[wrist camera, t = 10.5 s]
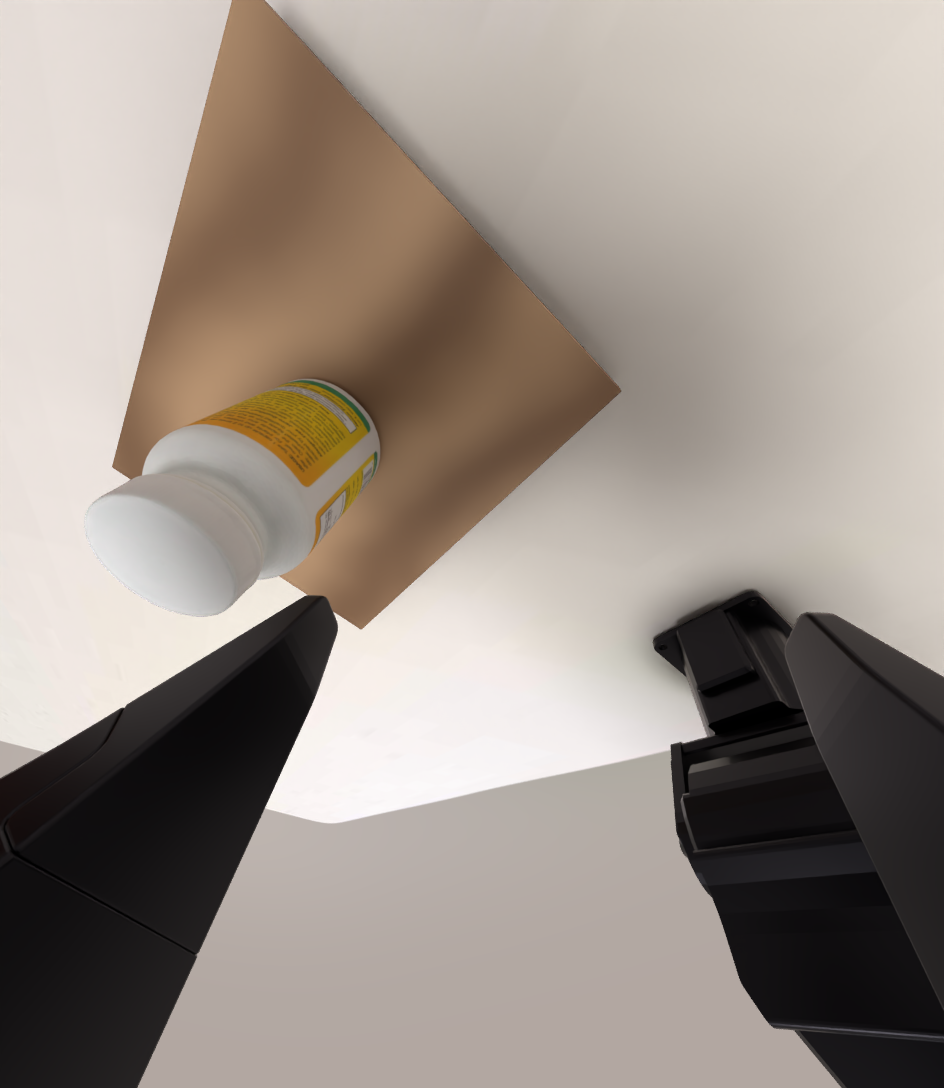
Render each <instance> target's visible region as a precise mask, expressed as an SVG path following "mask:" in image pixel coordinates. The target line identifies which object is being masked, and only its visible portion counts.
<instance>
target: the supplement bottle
mask: <svg viewBox="0 0 944 1088" xmlns="http://www.w3.org/2000/svg"><path fill="white" fill-rule="evenodd" d="M379 461H380V442H379V437H378V433H377V431H376V428H375V426H374V424H373V422H372V420H371V418H370V416H369V415H368V413H367V412H366V411H365V410H364V408H363V407H362V406H361V405H360V404H359V403H358V402H357V401H356V400H355V399H354V398H353V397H351V396H350V395H349V394H348V393H347V392H345V391H344V390H342V389H341V388H339V387H337V386H335V385H333V384H331V383H328V382H325V381H322V380H316V379H298V380H293V381H290V382H288V383H285V384H282V385H280V386H278V387H276V388H273V389H270V390H268V391H266V392H263V393H261V394H258V395H256V396H254V397H252V398H249V399H247V400H245V401H242V402H240V403H238V404H235V405H233V406H231V407H229V408H226V409H224V410H222V411H219V412H217V413H214V414H212V415H210V416H208V417H205V418H203V419H201V420H198V421H196V422H194V423H191V424H189V425H186V426H184V427H182V428H179V429H177V430H175V431H173V432H171V433H169V434H168V435H166V436H165V437H163V438H162V439H161V440H159V441H158V442H157V443H156V445H155V446H154V447H153V448H152V449H151V451H150V452H149V454H148V456H147V458H146V460H145V463H144V467H143V472H142V476H138V477H135V478H133V479H131V480H129V481H128V482H126V483H125V484H123V485H121V486H120V487H118V488H116V489H114V490H112V491H110V492H109V493H107V494H105V495H103V496H101V497H100V498H99V499H97V500H96V501H95V502H94V503H93V504H92V505H91V506H90V507H89V508H88V510H87V512H86V515H85V521H84V527H85V533H86V537H87V539H88V542H89V544H90V547H91V548H92V550H93V552H94V554H95V555H96V557H97V558H98V560H99V561H100V562H101V563H102V565H103V566H104V567H105V568H106V569H107V570H108V571H109V573H110V574H112V575H113V576H114V577H115V578H116V579H117V580H118V581H119V582H120V583H122V584H123V585H124V586H125V587H126V588H128V589H129V590H131V591H132V592H134V593H135V594H137V595H139V596H140V597H141V598H143V599H145V600H147V601H148V602H150V603H152V604H154V605H156V606H158V607H161V608H164V609H166V610H168V611H171V612H175V613H179V614H184V615H189V616H197V617H204V616H212V615H217V614H219V613H221V612H223V611H225V610H227V609H228V608H229V607H231V606H232V605H233V604H234V603H235V602H236V601H237V600H238V598H239V597H240V596H241V595H242V594H243V593H244V592H245V591H246V590H247V589H248V588H250V587H251V586H252V585H253V584H254V583H255V582H256V580H260V579H268V578H273V577H277V576H280V575H283V574H285V573H287V572H289V571H291V570H292V569H294V568H295V567H297V566H298V565H299V564H300V563H301V562H303V560H304V559H305V558H306V557H307V556H308V555H309V554H310V553H311V552H312V550H313V549H314V548H315V547H316V546H317V545H318V543H319V542H320V541H321V540H322V539H323V537H324V536H325V535H326V534H327V533H328V532H329V530H330V529H331V528H332V527H333V525H334V524H335V523H336V522H337V521H338V519H339V518H340V517H341V516H342V515H343V514H344V513H345V511H346V510H347V509H348V508H349V507H350V505H351V504H352V503H353V502H354V501H355V499H356V498H357V497H358V496H359V495H360V493H361V492H362V491H363V490H364V489H365V487H366V486H367V485H368V483H369V482H370V481H371V480H372V478H373V477H374V475H375V473H376V471H377V468H378V465H379Z"/></svg>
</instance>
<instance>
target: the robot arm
mask: <svg viewBox="0 0 944 1088" xmlns="http://www.w3.org/2000/svg"><path fill="white" fill-rule="evenodd" d="M751 600H754V601H751ZM750 601H751V602H750ZM337 631H338V624H337V620H336V618H335V615H334V613H333V610H332V608H331V605H330V603H329V600H328V599H327V598H326V597H325V596H322V595H307V596H304V597H303V598H301V599H299V600H298V601H296V602H294V603H293V604H291V605H289V606H288V607H286V608H285V609H283V610H281V611H280V612H278V613H276V614H275V615H273V616H271V617H270V618H268V619H266V620H265V621H263V622H262V623H260V624H258V625H257V626H255V627H253V628H252V629H250V630H248V631H247V632H245V633H244V634H242V635H240V636H239V637H237V638H235V639H234V640H232V641H230V642H229V643H227V644H225V645H224V646H222V647H221V648H219V649H217V650H216V651H214V652H212V653H211V654H209V655H207V656H206V657H204V658H202V659H201V660H199V661H198V662H196V663H194V664H193V665H191V666H189V667H188V668H186V669H184V670H183V671H181V672H180V673H178V674H176V675H175V676H173V677H171V678H170V679H168V680H166V681H165V682H163V683H161V684H160V685H158V686H157V687H155V688H153V689H152V690H150V691H148V692H147V693H145V694H143V695H142V696H140V697H138V698H137V699H135V700H134V701H132V702H130V703H129V704H127V705H126V707H125V708H120V709H119V710H117V711H115V712H114V713H112V714H110V715H109V716H107V717H106V718H104V719H102V720H101V721H99V722H97V723H96V724H94V725H92V726H91V727H89V728H87V729H86V730H84V731H82V732H81V733H79V734H77V735H76V736H74V737H72V738H70V739H69V740H67V741H65V742H64V743H62V744H60V745H59V746H57V747H55V748H53V749H52V750H50V751H48V752H46V753H44V754H43V755H41V756H39V757H37V758H36V759H34V760H32V761H30V762H29V763H27V764H25V765H23V766H21V767H20V768H18V769H16V770H14V771H13V772H11V773H9V774H7V775H5V776H3V777H2V778H0V1088H137V1087H138V1085H139V1083H140V1081H141V1078H142V1076H143V1074H144V1072H145V1070H146V1068H147V1065H148V1063H149V1061H150V1059H151V1057H152V1054H153V1052H154V1050H155V1048H156V1046H157V1044H158V1041H159V1039H160V1037H161V1035H162V1033H163V1030H164V1028H165V1026H166V1024H167V1022H168V1019H169V1017H170V1015H171V1013H172V1011H173V1009H174V1006H175V1004H176V1002H177V1000H178V998H179V995H180V993H181V991H182V989H183V987H184V985H185V982H186V980H187V978H188V976H189V974H190V971H191V969H192V967H193V965H194V963H195V960H196V958H197V953H199V951H200V949H201V947H202V944H203V942H204V940H205V938H206V936H207V933H208V931H209V929H210V927H211V925H212V923H213V920H214V918H215V916H216V913H217V912H218V909H219V907H220V905H221V903H222V900H223V898H224V896H225V894H226V892H227V890H228V888H229V885H230V883H231V881H232V879H233V877H234V874H235V872H236V870H237V868H238V865H239V863H240V861H241V859H242V857H243V855H244V852H245V850H246V848H247V846H248V844H249V841H250V839H251V837H252V835H253V833H254V831H255V829H256V826H257V824H258V822H259V819H260V818H261V815H262V813H263V811H264V809H265V807H266V804H267V802H268V800H269V798H270V796H271V794H272V791H273V789H274V787H275V785H276V783H277V780H278V778H279V776H280V774H281V772H282V769H283V767H284V765H285V763H286V761H287V759H288V756H289V754H290V752H291V750H292V748H293V745H294V743H295V741H296V739H297V737H298V734H299V732H300V730H301V728H302V726H303V724H304V721H305V719H306V717H307V715H308V713H309V710H310V708H311V706H312V703H313V701H314V699H315V696H316V694H317V691H318V688H319V686H320V683H321V680H322V677H323V674H324V671H325V668H326V665H327V662H328V659H329V656H330V653H331V650H332V647H333V644H334V641H335V638H336V636H337ZM653 646H654V649H655V651H656V652H658V653H659V654H660V655H661V656H662V657H664V658H665V659H666V660H667V661H668V662H670V663H671V664H672V665H673V666H674V667H675V668H677V669H678V670H679V671H680V672H681V673H683V674H684V675H685V676H686V677H687V679H688V682H689V685H690V688H691V691H692V694H693V697H694V700H695V702H696V705H697V708H698V711H699V714H700V717H701V720H702V723H703V726H704V729H705V732H706V735H707V737H705V738H701V739H698V740H694V741H690V742H686V743H682V742H679V743H675V744H671V759H672V760H671V770H672V782H673V794H674V808H675V820H676V831H677V835H678V837H679V843H680V847H681V850H682V852H683V854H684V855H685V856H686V857H687V858H688V859H689V862H690V864H691V866H692V868H693V870H694V872H695V874H696V876H697V878H698V879H699V881H700V883H701V884H702V886H703V887H704V889H705V890H706V891H707V893H708V894H709V895H710V896H711V897H712V898H713V901H714V903H715V906H716V908H717V911H718V913H719V916H720V919H721V922H722V925H723V928H724V931H725V934H726V937H727V940H728V944H729V947H730V950H731V953H732V956H733V960H734V963H735V966H736V969H737V972H738V976H739V979H740V981H741V983H742V985H743V987H744V988H745V990H746V991H747V993H748V994H749V996H750V997H751V999H752V1000H753V1002H754V1003H755V1005H756V1006H757V1008H758V1009H759V1011H760V1012H761V1014H762V1015H763V1016H764V1018H765V1019H766V1021H767V1022H768V1023H769V1024H770V1025H771V1026H772V1027H773V1028H776V1029H788V1030H795V1032H796V1033H797V1034H798V1036H800V1038H801V1039H802V1040H803V1042H804V1043H805V1044H806V1045H807V1046H808V1048H809V1049H810V1050H811V1051H812V1052H813V1054H814V1055H815V1056H816V1057H817V1058H818V1060H819V1061H820V1062H821V1063H822V1065H823V1066H824V1067H825V1068H826V1069H827V1071H828V1072H829V1073H830V1074H831V1075H832V1077H834V1079H835V1080H836V1081H837V1083H838V1084H839V1085H840V1086H841V1087H842V1088H944V677H943V676H941V675H939V674H938V673H936V672H934V671H932V670H931V669H929V668H927V667H925V666H924V665H922V664H920V663H918V662H917V661H915V660H913V659H912V658H910V657H908V656H906V655H905V654H903V653H901V652H899V651H898V650H896V649H894V648H892V647H891V646H889V645H887V644H885V643H884V642H882V641H880V640H878V639H877V638H875V637H873V636H871V635H870V634H868V633H866V632H864V631H863V630H861V629H859V628H858V627H856V626H854V625H852V624H851V623H849V622H847V621H845V620H844V619H842V618H840V617H838V616H836V615H834V614H831V613H817V612H806V613H803V614H801V615H800V616H799V617H798V619H797V621H796V623H795V625H794V628H793V627H792V626H791V625H790V624H789V623H788V622H787V621H786V620H785V619H784V618H783V617H782V616H781V615H780V614H779V613H778V612H777V611H776V610H775V608H774V607H773V606H772V605H771V604H770V603H769V602H768V601H767V600H766V599H765V598H764V597H763V596H762V595H761V594H760V593H758V592H755V591H752V592H747V593H745V594H743V595H741V596H739V597H737V598H735V599H733V600H731V601H729V602H727V603H725V604H723V605H721V606H719V607H717V608H715V609H713V610H711V611H709V612H707V613H705V614H703V615H701V616H699V617H697V618H695V619H693V620H691V621H689V622H687V623H685V624H683V625H681V626H679V627H677V628H675V629H673V630H671V631H669V632H667V633H665V634H663V635H661V636H659V637H657V638H656V639H654V641H653Z"/></svg>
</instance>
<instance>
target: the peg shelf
mask: <svg viewBox="0 0 944 1088" xmlns="http://www.w3.org/2000/svg"><path fill="white" fill-rule="evenodd" d="M298 379H316V380H322V381H325V382H328V383H331V384H333V385H335V386H337V387H339V388H341V389H342V390H344V391H345V392H347V393H348V394H349V395H350V396H351V397H353V398H354V399H355V400H356V401H357V402H358V403H359V404H360V405H361V406H362V407H363V408H364V410H365V411H366V412H367V413H368V415H369V416H370V418H371V420H372V422H373V424H374V426H375V428H376V431H377V433H378V437H379V442H380V461H379V465H378V468H377V471H376V473H375V475H374V477H373V478H372V480H371V481H370V482H369V483H368V485H367V486H366V487H365V489H364V490H363V491H362V492H361V493H360V495H359V496H358V497H357V498H356V499H355V501H354V502H353V503H352V504H351V505H350V507H349V508H348V509H347V510H346V511H345V513H344V514H343V515H342V516H341V517H340V518H339V519H338V521H337V522H336V523H335V524H334V525H333V527H332V528H331V529H330V530H329V532H328V533H327V534H326V535H325V536H324V537H323V539H322V540H321V541H320V542H319V543H318V545H317V546H316V547H315V548H314V549H313V550H312V552H311V553H310V554H309V555H308V556H307V557H306V558H305V559H304V560H303V562H301V563H300V564H299V565H298V566H297V567H295V568H294V569H292V570H291V571H289V572H287V573H285V574H283V575H280V577H281V578H283V579H284V580H286V581H287V582H289V583H290V584H292V585H294V586H295V587H297V588H298V589H300V590H301V591H303V592H304V593H306V594H307V595H322V596H325V597H326V598H327V599H328V600H329V603H330V605H331V608H332V610H333V612H335V613H336V614H338V615H340V616H341V617H343V618H344V619H346V620H347V621H349V622H350V623H352V624H353V625H355V626H356V627H358V628H359V629H363V628H364V627H365V626H366V625H367V624H368V623H369V622H370V621H371V620H372V619H373V618H375V617H376V616H377V615H378V614H379V613H380V612H381V611H382V610H383V609H384V608H385V607H387V606H388V605H389V604H390V603H391V602H392V601H393V600H394V599H395V598H396V597H397V596H399V595H400V594H401V593H402V592H403V591H404V590H405V589H406V588H407V587H408V586H409V585H411V584H412V583H413V582H414V581H415V580H416V579H417V578H418V577H419V576H420V575H421V574H423V573H424V572H425V571H426V570H427V569H428V568H429V567H430V566H431V565H432V564H433V563H435V562H436V561H437V560H438V559H439V558H440V557H441V556H442V555H443V554H444V553H445V552H447V551H448V550H449V549H450V548H451V547H452V546H453V545H454V544H455V543H456V542H457V541H459V540H460V539H461V538H462V537H463V536H464V535H465V534H466V533H467V532H468V531H470V530H471V529H472V528H473V527H474V526H475V525H476V524H477V523H478V522H479V521H480V520H482V519H483V518H484V517H485V516H486V515H487V514H488V513H489V512H490V511H491V510H492V509H494V508H495V507H496V506H497V505H498V504H499V503H500V502H501V501H502V500H503V499H504V498H506V497H507V496H508V495H509V494H510V493H511V492H512V491H513V490H514V489H515V488H516V487H518V486H519V485H520V484H521V483H522V482H523V481H524V480H525V479H526V478H527V477H528V476H530V475H531V474H532V473H533V472H534V471H535V470H536V469H537V468H538V467H539V466H540V465H542V464H543V463H544V462H545V461H546V460H547V459H548V458H549V457H550V456H551V455H552V454H554V453H555V452H556V451H557V450H558V449H559V448H560V447H561V446H562V445H563V444H564V443H566V442H567V441H568V440H569V439H570V438H571V437H572V436H573V435H574V434H575V433H576V432H578V431H579V430H580V429H581V428H582V427H583V426H584V425H585V424H586V423H587V422H588V421H590V420H591V419H592V418H593V417H594V416H595V415H596V414H597V413H598V412H599V411H600V410H602V409H603V408H604V407H605V406H606V405H607V404H608V403H609V402H610V401H611V400H612V399H614V398H615V397H616V396H617V395H618V394H619V393H620V392H621V390H620V388H619V386H618V385H617V384H616V383H615V382H614V381H613V380H612V379H611V378H610V376H609V375H608V374H607V373H606V372H605V371H604V370H603V369H602V368H601V367H600V366H599V364H598V363H597V362H596V361H595V360H594V359H593V358H592V357H591V356H590V355H589V354H588V352H587V351H586V350H585V349H584V348H583V347H582V346H581V345H580V344H579V343H578V342H577V340H576V339H575V338H574V337H573V336H572V335H571V334H570V333H569V332H568V331H567V330H566V328H565V327H564V326H563V325H562V324H561V323H560V322H559V321H558V320H557V319H556V317H555V316H554V315H553V314H552V313H551V312H550V311H549V310H548V309H547V308H546V307H545V305H544V304H543V303H542V302H541V301H540V300H539V299H538V298H537V297H536V296H535V295H534V293H533V292H532V291H531V290H530V289H529V288H528V287H527V286H526V285H525V284H524V283H523V281H522V280H521V279H520V278H519V277H518V276H517V275H516V274H515V273H514V272H513V271H512V269H511V268H510V267H509V266H508V265H507V264H506V263H505V262H504V261H503V260H502V259H501V257H500V256H499V255H498V254H497V253H496V252H495V251H494V250H493V249H492V248H491V247H490V245H489V244H488V243H487V242H486V241H485V240H484V239H483V238H482V237H481V236H480V235H479V233H478V232H477V231H476V230H475V229H474V228H473V227H472V226H471V225H470V224H469V223H468V221H467V220H466V219H465V218H464V217H463V216H462V215H461V214H460V213H459V212H458V211H457V209H456V208H455V207H454V206H453V205H452V204H451V203H450V202H449V201H448V200H447V199H446V197H445V196H444V195H443V194H442V193H441V192H440V191H439V190H438V189H437V188H436V187H435V185H434V184H433V183H432V182H431V181H430V180H429V179H428V178H427V177H426V176H425V175H424V173H423V172H422V171H421V170H420V169H419V168H418V167H417V166H416V165H415V164H414V163H413V161H412V160H411V159H410V158H409V157H408V156H407V155H406V154H405V153H404V152H403V151H402V149H401V148H400V147H399V146H398V145H397V144H396V143H395V142H394V141H393V140H392V139H391V137H390V136H389V135H388V134H387V133H386V132H385V131H384V130H383V129H382V128H381V127H380V125H379V124H378V123H377V122H376V121H375V120H374V119H373V118H372V117H371V116H370V114H369V113H368V112H367V111H366V110H365V109H364V108H363V107H362V106H361V105H360V104H359V102H358V101H357V100H356V99H355V98H354V97H353V96H352V95H351V94H350V93H349V92H348V90H347V89H346V88H345V87H344V86H343V85H342V84H341V83H340V82H339V81H338V80H337V78H336V77H335V76H334V75H333V74H332V73H331V72H330V71H329V70H328V69H327V68H326V66H325V65H324V64H323V63H322V62H321V61H320V60H319V59H318V58H317V57H316V56H315V54H314V53H313V52H312V51H311V50H310V49H309V48H308V47H307V46H306V45H305V44H304V42H303V41H302V40H301V39H300V38H299V37H298V36H297V35H296V34H295V33H294V32H293V30H292V29H291V28H290V27H289V26H288V25H287V24H286V23H285V22H284V21H283V20H282V18H281V17H280V16H279V15H278V14H277V13H276V12H275V11H274V10H273V9H272V8H271V6H270V5H269V4H268V3H267V2H266V1H265V0H232V3H231V7H230V11H229V15H228V19H227V23H226V26H225V30H224V34H223V38H222V42H221V46H220V50H219V54H218V58H217V61H216V65H215V69H214V73H213V77H212V81H211V85H210V89H209V92H208V96H207V100H206V104H205V108H204V112H203V116H202V120H201V124H200V127H199V131H198V135H197V139H196V143H195V147H194V151H193V155H192V159H191V162H190V166H189V170H188V174H187V178H186V182H185V186H184V190H183V194H182V197H181V201H180V205H179V209H178V213H177V217H176V221H175V225H174V229H173V232H172V236H171V240H170V244H169V248H168V252H167V256H166V260H165V263H164V267H163V271H162V275H161V279H160V283H159V287H158V291H157V295H156V298H155V302H154V306H153V310H152V314H151V318H150V322H149V326H148V330H147V333H146V337H145V341H144V345H143V349H142V353H141V357H140V361H139V365H138V368H137V372H136V376H135V380H134V384H133V388H132V392H131V396H130V399H129V403H128V407H127V411H126V415H125V419H124V423H123V427H122V431H121V434H120V438H119V442H118V446H117V450H116V454H115V458H114V462H113V466H112V467H113V468H114V469H116V470H117V471H119V472H120V473H122V474H123V475H125V476H126V477H128V478H129V479H133V478H135V477H138V476H142V472H143V467H144V463H145V460H146V458H147V456H148V454H149V452H150V451H151V449H152V448H153V447H154V446H155V445H156V443H157V442H158V441H159V440H161V439H162V438H163V437H165V436H166V435H168V434H169V433H171V432H173V431H175V430H177V429H179V428H182V427H184V426H186V425H189V424H191V423H194V422H196V421H198V420H201V419H203V418H205V417H208V416H210V415H212V414H214V413H217V412H219V411H222V410H224V409H226V408H229V407H231V406H233V405H235V404H238V403H240V402H242V401H245V400H247V399H249V398H252V397H254V396H256V395H258V394H261V393H263V392H266V391H268V390H270V389H273V388H276V387H278V386H280V385H282V384H285V383H288V382H290V381H293V380H298Z"/></svg>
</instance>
